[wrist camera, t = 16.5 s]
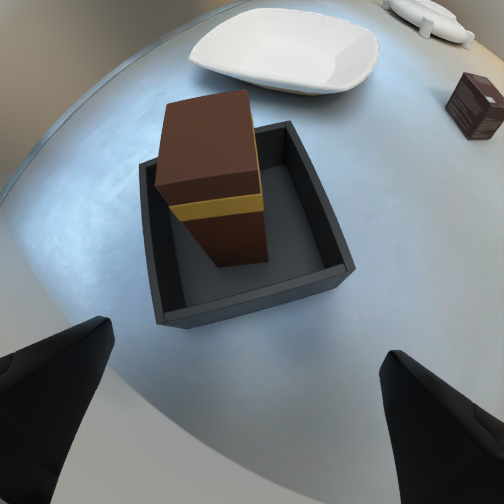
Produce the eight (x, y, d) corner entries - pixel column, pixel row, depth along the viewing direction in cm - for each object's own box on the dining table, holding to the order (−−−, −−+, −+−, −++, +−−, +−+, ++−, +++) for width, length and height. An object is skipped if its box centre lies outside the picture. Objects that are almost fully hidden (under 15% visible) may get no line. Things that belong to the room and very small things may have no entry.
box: (468, 109, 26) (486, 77, 19) (490, 140, 24) (513, 109, 17) (443, 107, 26) (462, 70, 19) (467, 141, 24) (492, 104, 17)
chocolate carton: (269, 262, 21) (259, 170, 10) (216, 268, 21) (152, 187, 10) (262, 203, 23) (248, 88, 11) (214, 209, 23) (165, 103, 11)
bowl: (252, 28, 34) (249, 4, 29) (379, 57, 30) (385, 31, 25) (177, 97, 29) (164, 66, 24) (351, 143, 25) (362, 106, 20)
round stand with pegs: (390, 1, 41) (393, -18, 35) (466, 38, 36) (473, 21, 29) (371, 15, 36) (375, -10, 29) (471, 65, 30) (482, 42, 24)
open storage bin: (185, 329, 20) (156, 324, 15) (163, 197, 24) (138, 164, 19) (336, 287, 20) (356, 269, 15) (289, 161, 24) (290, 120, 19)
